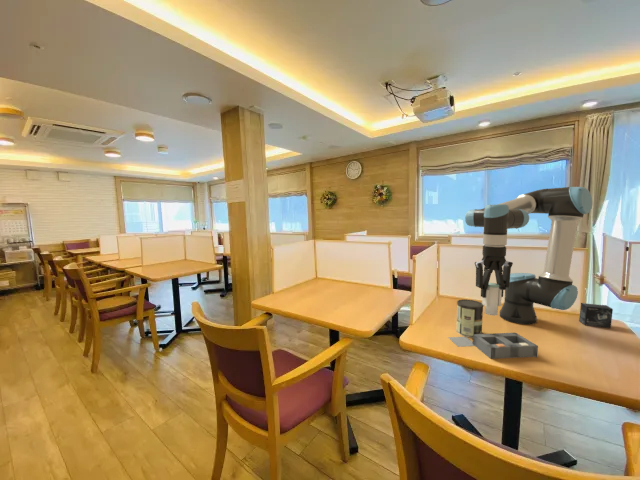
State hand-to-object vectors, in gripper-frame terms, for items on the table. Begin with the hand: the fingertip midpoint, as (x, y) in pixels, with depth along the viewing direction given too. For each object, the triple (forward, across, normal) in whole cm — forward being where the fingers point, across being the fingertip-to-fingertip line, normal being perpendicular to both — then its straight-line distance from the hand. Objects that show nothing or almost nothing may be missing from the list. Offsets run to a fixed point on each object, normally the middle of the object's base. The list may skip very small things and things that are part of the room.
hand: (491, 305), depth 104 cm
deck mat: (+19, +7, -7) cm, 21 cm away
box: (+19, -63, -19) cm, 69 cm away
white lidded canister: (+3, 0, 0) cm, 3 cm away
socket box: (+19, -5, +1) cm, 19 cm away
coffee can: (+19, 0, -15) cm, 24 cm away
